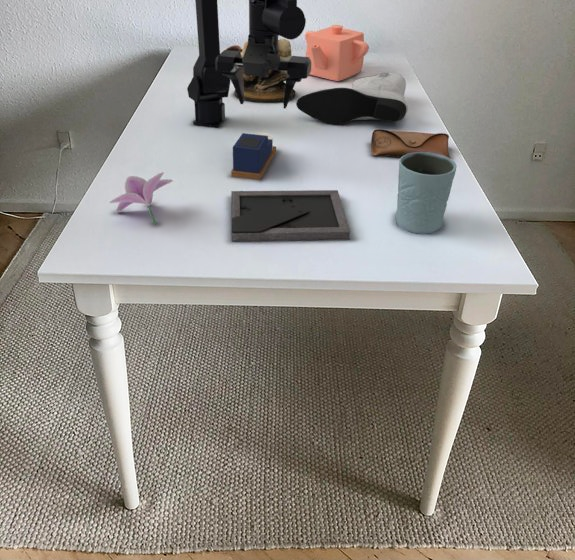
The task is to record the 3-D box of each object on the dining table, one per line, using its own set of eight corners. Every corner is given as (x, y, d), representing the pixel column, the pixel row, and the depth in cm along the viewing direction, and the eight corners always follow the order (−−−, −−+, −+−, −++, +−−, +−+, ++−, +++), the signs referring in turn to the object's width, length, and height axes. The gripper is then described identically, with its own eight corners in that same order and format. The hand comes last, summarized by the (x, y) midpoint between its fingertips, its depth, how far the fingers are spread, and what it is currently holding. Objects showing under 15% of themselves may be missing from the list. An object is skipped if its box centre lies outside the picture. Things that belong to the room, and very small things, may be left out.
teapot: (317, 61, 199) (319, 15, 191) (377, 75, 189) (382, 27, 181) (280, 75, 186) (281, 27, 178) (343, 91, 176) (347, 40, 168)
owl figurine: (298, 89, 177) (300, 26, 167) (299, 103, 167) (302, 37, 157) (234, 87, 176) (233, 24, 166) (233, 102, 166) (231, 36, 156)
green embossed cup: (409, 239, 111) (419, 179, 104) (380, 213, 119) (388, 155, 112) (456, 229, 115) (468, 169, 108) (425, 204, 122) (435, 147, 115)
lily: (185, 208, 120) (165, 161, 118) (183, 215, 109) (161, 163, 106) (127, 231, 120) (106, 185, 117) (119, 241, 108) (96, 189, 106)
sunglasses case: (372, 155, 139) (374, 125, 138) (369, 159, 146) (371, 130, 146) (453, 160, 138) (455, 130, 138) (446, 163, 145) (448, 134, 145)
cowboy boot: (410, 100, 148) (413, 70, 168) (298, 80, 150) (314, 53, 170) (401, 138, 153) (406, 104, 173) (293, 118, 156) (310, 87, 176)
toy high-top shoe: (260, 180, 129) (260, 150, 125) (231, 176, 130) (230, 146, 126) (276, 151, 141) (276, 123, 137) (249, 148, 142) (249, 120, 138)
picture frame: (231, 241, 109) (349, 239, 111) (231, 231, 108) (350, 229, 109) (231, 198, 122) (337, 197, 124) (231, 189, 121) (337, 188, 122)
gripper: (205, 33, 115) (209, 115, 124) (303, 41, 113) (300, 124, 122) (221, 20, 124) (224, 96, 133) (313, 27, 122) (309, 105, 131)
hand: (263, 105), depth 130 cm, fingers open, 9 cm apart
